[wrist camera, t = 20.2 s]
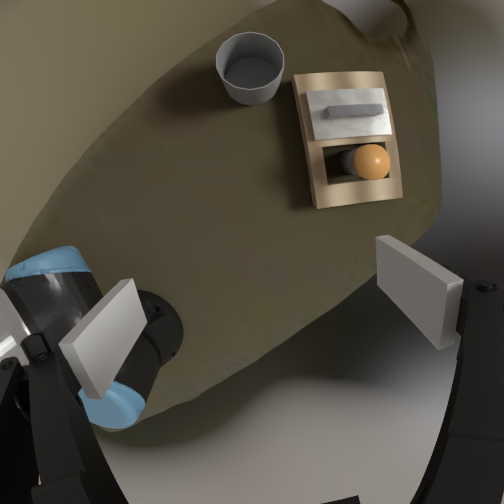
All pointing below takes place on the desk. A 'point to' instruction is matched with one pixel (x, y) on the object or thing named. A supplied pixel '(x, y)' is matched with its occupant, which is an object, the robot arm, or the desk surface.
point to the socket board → (349, 189)
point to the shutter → (348, 113)
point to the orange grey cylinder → (365, 162)
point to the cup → (250, 67)
